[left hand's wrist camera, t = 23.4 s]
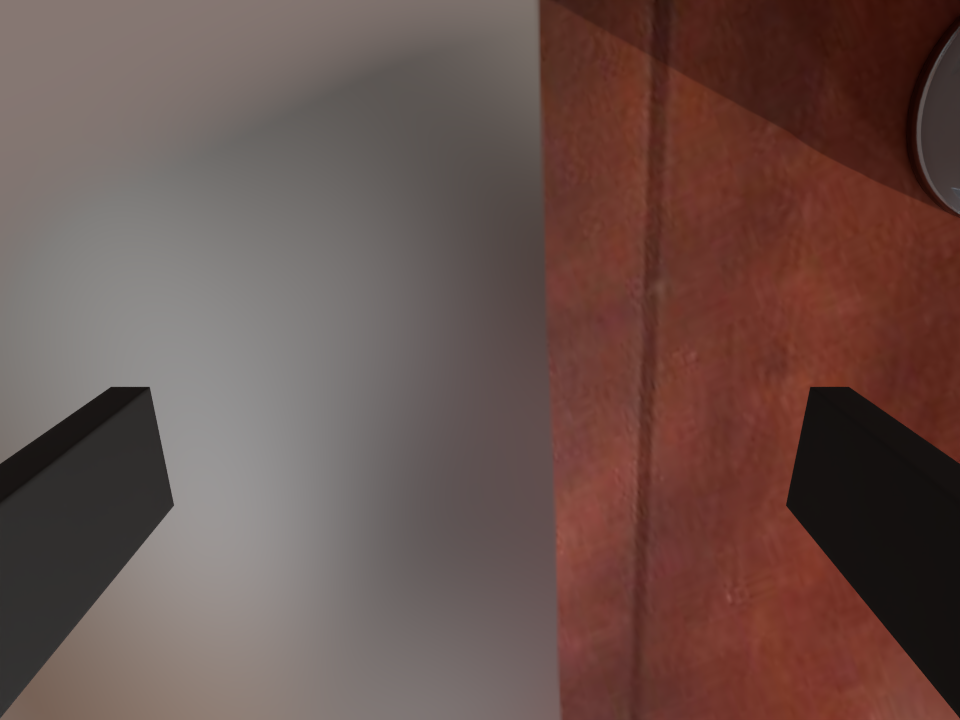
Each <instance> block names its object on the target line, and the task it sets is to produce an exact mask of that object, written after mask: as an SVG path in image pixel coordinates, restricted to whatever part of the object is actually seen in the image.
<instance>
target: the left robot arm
mask: <svg viewBox="0 0 960 720" xmlns="http://www.w3.org/2000/svg"><path fill="white" fill-rule="evenodd" d="M907 146H908V153H909V158H910V162H911V165H912V169H913V172H914V174H915V176H916V178H917V180H918V182H919V184H920V185H921V187H922V189H923V190H924V191H925V193H926V194H927V195H928V196H929V197H930V198H931V199H932V200H933V201H934V202H935V203H936V204H937V205H938V206H939V207H941V208H942V209H943V210H945V211H947V212H948V213H950V214H952V215H954V216H956V217H959V218H960V16H959V17H958V18H957V19H956V21H955V22H954V23H953V24H952V25H951V26H950V27H949V28H948V30H947V31H946V32H945V33H944V35H943V36H942V37H941V38H940V40H939V41H938V43H937V44H936V46H935V47H934V49H933V50H932V52H931V54H930V55H929V57H928V59H927V61H926V63H925V64H924V67H923V69H922V71H921V73H920V75H919V77H918V80H917V83H916V85H915V88H914V91H913V95H912V98H911V102H910V107H909V112H908V120H907ZM173 506H174V503H173V498H172V494H171V489H170V484H169V479H168V474H167V469H166V464H165V460H164V455H163V450H162V445H161V440H160V435H159V430H158V425H157V420H156V416H155V411H154V406H153V401H152V396H151V391H150V387H110V388H109V389H108V390H106V391H105V392H103V393H102V394H100V395H99V396H97V397H96V398H95V399H93V400H92V401H90V402H89V403H87V404H86V405H84V406H83V407H82V408H80V409H79V410H77V411H76V412H74V413H73V414H71V415H70V416H69V417H67V418H66V419H64V420H63V421H61V422H60V423H59V424H57V425H56V426H54V427H53V428H51V429H50V430H49V431H47V432H46V433H44V434H43V435H41V436H40V437H38V438H37V439H36V440H34V441H33V442H31V443H30V444H28V445H27V446H25V447H24V448H23V449H21V450H20V451H18V452H17V453H15V454H14V455H13V456H11V457H10V458H8V459H7V460H5V461H4V462H2V463H1V464H0V718H1V717H2V715H3V714H4V713H5V712H6V710H7V709H8V708H9V707H10V705H11V704H12V703H13V702H14V701H15V699H16V698H17V697H18V696H19V695H20V693H21V692H22V691H23V690H24V688H25V687H26V686H27V685H28V684H29V682H30V681H31V680H32V679H33V677H34V676H35V675H36V674H37V672H38V671H39V670H40V669H41V668H42V666H43V665H44V664H45V663H46V661H47V660H48V659H49V658H50V657H51V655H52V654H53V653H54V652H55V650H56V649H57V648H58V647H59V645H60V644H61V643H62V642H63V641H64V639H65V638H66V637H67V636H68V635H69V633H70V632H71V631H72V630H73V628H74V627H75V626H76V625H77V624H78V622H79V621H80V620H81V619H82V617H83V616H84V615H85V614H86V612H87V611H88V610H89V609H90V608H91V606H92V605H93V604H94V603H95V601H96V600H97V599H98V598H99V596H100V595H101V594H102V593H103V592H104V590H105V589H106V588H107V587H108V585H109V584H110V583H111V582H112V581H113V579H114V578H115V577H116V576H117V574H118V573H119V572H120V571H121V570H122V568H123V567H124V566H125V565H126V564H127V562H128V561H129V560H130V559H131V557H132V556H133V555H134V554H135V552H136V551H137V550H138V549H139V548H140V546H141V545H142V544H143V543H144V541H145V540H146V539H147V538H148V537H149V535H150V534H151V533H152V532H153V530H154V529H155V528H156V527H157V526H158V524H159V523H160V522H161V521H162V519H163V518H164V517H165V516H166V515H167V513H168V512H169V511H170V510H171V508H172V507H173ZM786 506H787V507H788V508H789V510H790V511H791V512H792V513H793V515H794V516H795V517H796V518H797V519H798V521H799V522H800V523H801V524H802V526H803V527H804V528H805V529H806V530H807V532H808V533H809V534H810V535H811V537H812V538H813V539H814V540H815V541H816V543H817V544H818V545H819V546H820V548H821V549H822V550H823V551H824V552H825V554H826V555H827V556H828V557H829V559H830V560H831V561H832V562H833V564H834V565H835V566H836V567H837V568H838V570H839V571H840V572H841V573H842V575H843V576H844V577H845V578H846V579H847V581H848V582H849V583H850V584H851V586H852V587H853V588H854V589H855V590H856V592H857V593H858V594H859V595H860V597H861V598H862V599H863V600H864V601H865V603H866V604H867V605H868V606H869V608H870V609H871V610H872V611H873V612H874V614H875V615H876V616H877V617H878V619H879V620H880V621H881V622H882V624H883V625H884V626H885V627H886V628H887V630H888V631H889V632H890V633H891V635H892V636H893V637H894V638H895V639H896V641H897V642H898V643H899V644H900V646H901V647H902V648H903V649H904V650H905V652H906V653H907V654H908V655H909V657H910V658H911V659H912V660H913V661H914V663H915V664H916V665H917V666H918V668H919V669H920V670H921V671H922V672H923V674H924V675H925V676H926V677H927V679H928V680H929V681H930V682H931V684H932V685H933V686H934V687H935V688H936V690H937V691H938V692H939V693H940V695H941V696H942V697H943V698H944V699H945V701H946V702H947V703H948V704H949V706H950V707H951V708H952V709H953V710H954V712H955V713H956V714H957V715H958V717H959V718H960V464H959V463H958V462H956V461H955V460H953V459H952V458H950V457H949V456H948V455H946V454H945V453H943V452H942V451H940V450H939V449H937V448H936V447H935V446H933V445H932V444H930V443H929V442H927V441H926V440H924V439H923V438H922V437H920V436H919V435H917V434H916V433H914V432H913V431H912V430H910V429H909V428H907V427H906V426H904V425H903V424H901V423H900V422H899V421H897V420H896V419H894V418H893V417H891V416H890V415H889V414H887V413H886V412H884V411H883V410H881V409H880V408H878V407H877V406H876V405H874V404H873V403H871V402H870V401H868V400H867V399H865V398H864V397H863V396H861V395H860V394H858V393H857V392H855V391H854V390H853V389H851V388H850V387H810V391H809V396H808V401H807V406H806V411H805V416H804V420H803V425H802V430H801V435H800V440H799V445H798V450H797V455H796V459H795V464H794V469H793V474H792V479H791V484H790V489H789V494H788V498H787V503H786Z"/></svg>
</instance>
